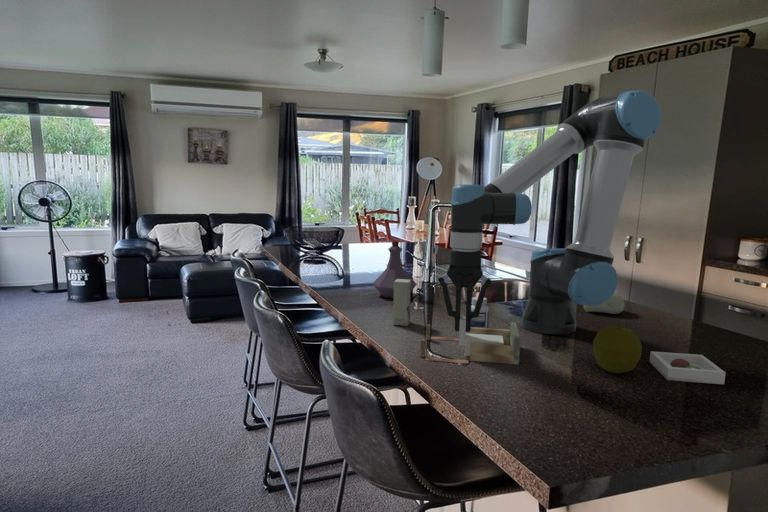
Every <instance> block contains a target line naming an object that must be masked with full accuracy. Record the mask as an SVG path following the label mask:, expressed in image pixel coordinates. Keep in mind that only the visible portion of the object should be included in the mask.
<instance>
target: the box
mask: <svg viewBox="0 0 768 512" xmlns="http://www.w3.org/2000/svg"><path fill="white" fill-rule="evenodd" d="M410 287H411V280H408V279H397V280H395V281H394V298H393V313H392V314H393V321H392V323H393V325H394V326H403V327H407V326H408V325H409V324H410V322H411V292H410Z"/></svg>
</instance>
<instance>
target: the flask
mask: <svg viewBox="0 0 768 512" xmlns="http://www.w3.org/2000/svg"><path fill="white" fill-rule="evenodd" d="M391 244H392V245H391V246H390V247H388V251H389V259H388V262H387V264H386V265H387V266H386V268H385V269H384V271H383V272H382V273H381V274H380V275H379V276H378V277H377V278H376V279H375V280H374V281H373V282H372V283H371V285H373V286H374V287H375V289H376V290H377V291H378V292H379V294H380V295H381V296H383V297H384V298H387V297H390V298H389V299H394V281H395V280H397V279H408V280H411V287H410V293H411V292H413V290H414V288H415V287H417V285H418V284H417V283H416V281H415V280H414V279H413V278H412V277H411V276H410V275H409V273H408V272H407V271H406V269H404V267H403V265H404V264H403V262H402V258H401V257H402V256H401V252H402V251H403V248H402V247H400V241H399V240H392V241H391Z"/></svg>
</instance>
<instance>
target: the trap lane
mask: <svg viewBox="0 0 768 512" xmlns="http://www.w3.org/2000/svg"><path fill="white" fill-rule="evenodd" d="M509 327H510V328H509V329H506V328H505V329H503V328H489V327H488V328H476V327H471V333H470V334H484V335H499V336H503V342H504V345H495V344H481V343H470V356H469V360H468V359H467V360H466V359H455V358H444V357H432V356H431V357H430V356H426V341H430V340H435V341H437V340H438V341H439V340H440V341H450V342H452V341H454V342H459V337H458V338H456V337H455V338H454V337H443V336H431V324H430V323H429V324H426V326H425V339H420V355H419V356H420V358H424V361H429V362H430V361H431V362H440V363H441V362H442V363H453V364H455V363H456V364H466V365H467V364H468V365H469V361H470V362H480V363H481V362H483V363H494V364H508V365H519V364H520V353H521V352H520V351H521V337H520V334H519V330H518V327H517V323H516V322H513V321H511V322H510V325H509Z"/></svg>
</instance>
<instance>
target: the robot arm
mask: <svg viewBox="0 0 768 512" xmlns="http://www.w3.org/2000/svg"><path fill="white" fill-rule="evenodd" d="M661 122H662V109H661V107H660V104H658V100H657V99H656V97H655V96H653V94H651V93H650V92H648V91H646V90H643V89H638V90H632V91H631V90H626V91H623V92H621V93H617V94H613V95H609V96H605V97H600V98H597V99H596V98H595V99H594V100H591V101H590V102H588V103H586V104H585V105H584V106H582V107H580V108H579V109H578V110H577V111H575V112H574V113H573V114H571V115H570V116H569V117H568V118H566V119H565V120H564V121H562V122H561V123H560V124H558V125H557V127H556V131H555V132H554V133H553V134H552V135H550V136H548V137H547V138H546V139H545V140H544V141H542V142H541V143H540V144H538V145H537V146H536V147H535V148H533V149H532V150H531V151H529V152H528V153H527V154H526V155H524V156H523V157H522V158H520V159H519V160H518V161H517V162H515V163H514V164H512V165H511V166H510V167H509V168H508V169H506V170H505V171H503V172H502V173H501V174H499V175H497V177H496V178H494V179H493V180H492V181H490V182H489V183H488V184H486V185H485V186H484V185H483V184H462V183H461V184H459V183H458V184H456V185H454V186H453V187H452V191H451V192H452V193H451V202H450V207H451V208H450V209H451V211H450V213H451V214H450V238H449V246H450V248H451V249H450V251H449V264H448V265H449V267H448V268H447V271H446V273H445V274H443V275H439V276H438V279H437V281H438V283H439V284H440V286H441V287H442V294H443V298H444V302H445V307H446V313H447V315H448V316H449V317H453V319H454V331H455V332H458V333H459V334H458V338H459V341H458V346H459V347H465V335H466V333H469V332H470V328H471V319H472V318H477V317H478V316H479V313H480V309H481V306H482V303H483V299H484V298H485V296H486V293H487V289H489V287H490V285H491V284H492V280H491V278H490V277H487V276H486V275H484V272H483V270H482V268H481V267H482V251H481V250H480V249H482V248H483V247H482V246H483V227H484V225H513V226H515V225H523V224H524V225H525V224H526V223H527V222H528V221H529V220H530V218H531V216H532V211H533V210H532V208H533V207H532V201H531V199H530V197H529V196H528V195H527V194H526V193H524V192H525V191H527V190H528V189H529V188H531V187H532V186H533V185H535V183H537V182H538V181H540V180H541V179H542V178H544V177H545V176H546V175H547V174H548V173H550V172H551V171H553V170H554V169H556V167H558V166H560V165H561V164H562V163H563V162H564V161H566V160H567V159H568V158H569V157H571V156H572V155H573V154H575V155H576V154H577V155H578V154H580V153H582V152H583V151H584V150H586V149H589V148H590V147H592V146H594V147H595V149H596V151H597V152H596V156H595V160H594V163H593V167H592V172H591V177H590V179H589V184H588V188H587V191H586V195H585V199H584V203H583V207H582V210H581V214H580V218H579V221H578V226H577V230H576V233H575V237H574V241H573V242H572V243H570V244H569V245H567V246H566V248H535V249H534V250H532V253H531V257H530V262H529V264H530V270H529V271H530V272H529V288H528V289H529V291H528V301H527V302H526V305H525V308H524V310H523V313H522V315H521V320H520V325H521V327H522V328H524V329H526V330H529V331H530V332H531V331H532V332H534V333H540V334H546V335H568V334H572V333H575V332H576V331H577V319H576V316H575V313H574V308H573V304H572V302H573V303H575V304H578V305H581V306H584V305H586V306H597V305H600V304H602V303H604V302H605V301H607V300H608V299H610V298H611V296H612V295H613V294H614V293H615V292H616V290H617V287H618V285H619V275H618V274H617V270H616V268H615V267H614V266H613V263H614V259H615V256H614V255H613V253H612V252H611V245H612V240H613V237H614V233H615V230H616V226H617V222H618V219H619V214H620V211H621V207H622V203H623V199H624V195H625V192H626V188H627V183H628V181H629V176H630V173H631V169H632V165H633V161H634V157H636V156H637V155H638V154H640V153H641V152H643V149H644V145H645V142H646V139H649V138H651V137H652V136H653V135H654V134H656V133H657V132H658V130H659V128H660V126H661ZM449 279H450V281H451V282H452V284H453V285H454V286H455V305H454V307H455V308H453V304H452V300H451V294H450V289H449V285H448V283H449ZM480 280H481V281H480ZM479 281H480V285H481V286H480V290H479V293H478V296H477V297H478V299H477V303H476V306H475V309H474V311H473V312H471V305H472V298H473V288H474V287H475V286H476V285H477V284H478V282H479ZM462 288H465V289H466V306H465V307H466V309H465V316H461V309H462V308H461V306H462ZM454 309H455V310H454Z"/></svg>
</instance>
